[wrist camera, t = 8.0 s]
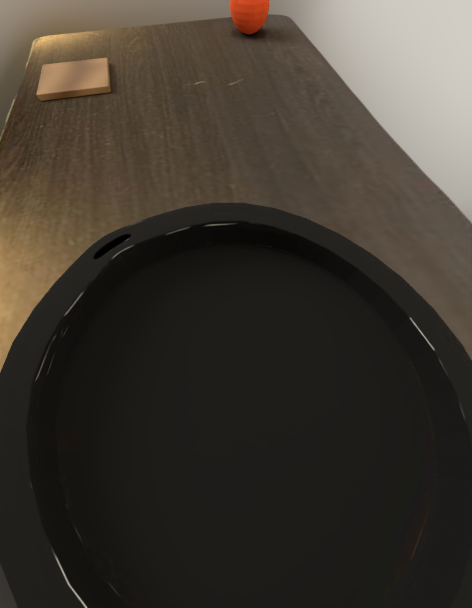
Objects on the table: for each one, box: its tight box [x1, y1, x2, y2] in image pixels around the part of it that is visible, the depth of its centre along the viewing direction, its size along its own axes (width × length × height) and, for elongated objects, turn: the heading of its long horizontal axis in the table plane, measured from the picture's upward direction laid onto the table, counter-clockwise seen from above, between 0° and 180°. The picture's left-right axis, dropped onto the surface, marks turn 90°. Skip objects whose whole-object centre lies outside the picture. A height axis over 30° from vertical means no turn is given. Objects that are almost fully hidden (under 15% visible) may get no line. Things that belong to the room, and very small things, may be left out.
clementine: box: [230, 0, 269, 34], centre depth 46 cm, size 8×7×7 cm
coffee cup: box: [0, 203, 472, 608], centre depth 10 cm, size 8×8×15 cm
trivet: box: [37, 58, 111, 101], centre depth 40 cm, size 10×10×1 cm
